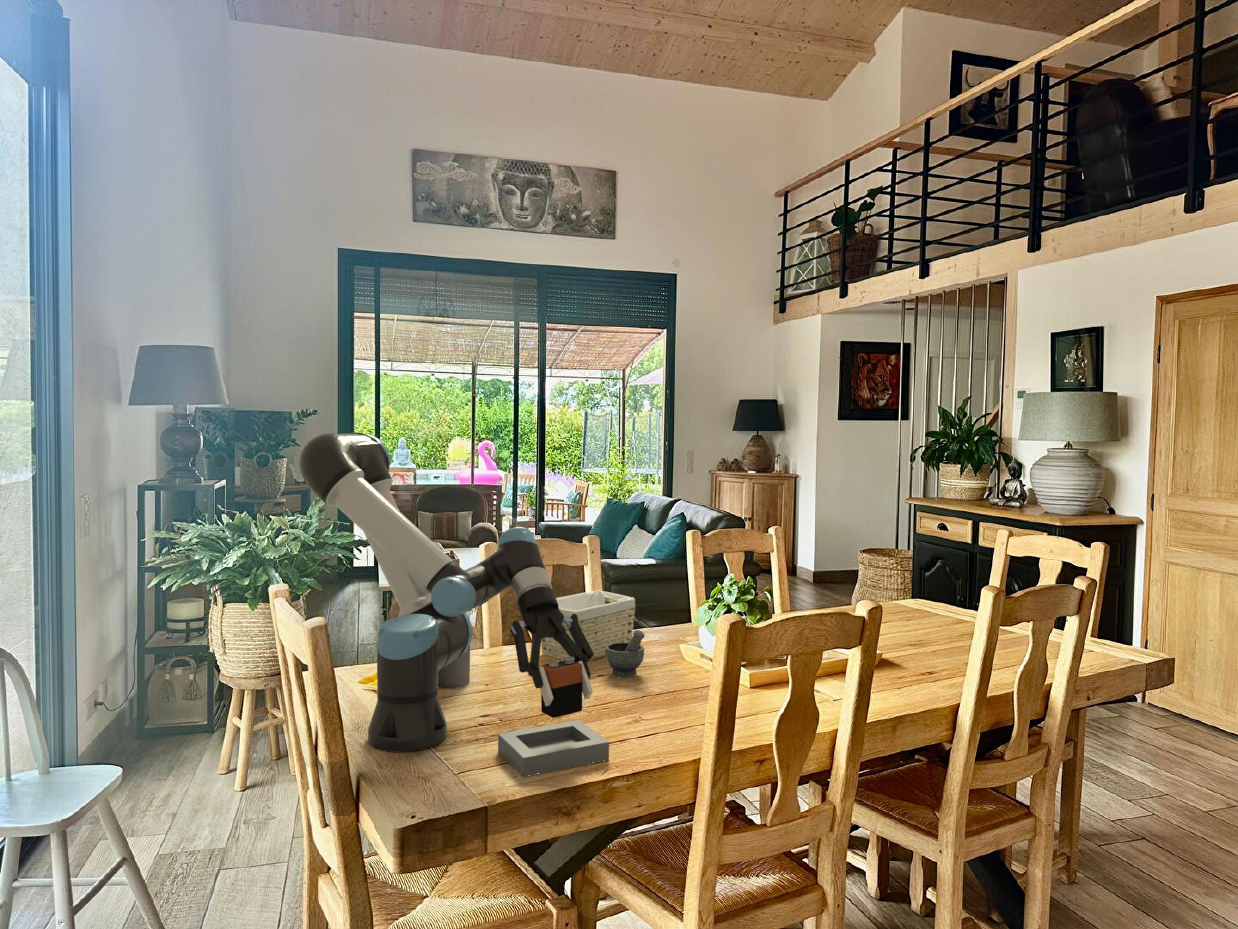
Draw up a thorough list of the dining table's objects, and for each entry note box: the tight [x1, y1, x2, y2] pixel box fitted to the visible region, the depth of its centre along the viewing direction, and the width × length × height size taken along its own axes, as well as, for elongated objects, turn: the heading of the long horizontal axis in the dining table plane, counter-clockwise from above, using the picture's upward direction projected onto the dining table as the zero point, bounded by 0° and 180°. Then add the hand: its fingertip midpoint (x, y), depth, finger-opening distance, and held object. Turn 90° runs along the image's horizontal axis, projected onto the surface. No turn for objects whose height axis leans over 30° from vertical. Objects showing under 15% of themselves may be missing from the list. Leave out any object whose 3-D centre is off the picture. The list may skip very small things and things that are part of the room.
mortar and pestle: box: [605, 629, 645, 679], centre depth 212 cm, size 11×9×12 cm
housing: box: [497, 719, 610, 777], centre depth 160 cm, size 17×13×4 cm
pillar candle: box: [438, 644, 471, 690], centre depth 204 cm, size 10×10×15 cm
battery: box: [540, 657, 583, 719], centre depth 159 cm, size 4×7×10 cm, turn 128°
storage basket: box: [540, 589, 636, 661], centre depth 232 cm, size 24×16×15 cm
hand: (569, 698), depth 156 cm, fingers closed on battery, 7 cm apart
